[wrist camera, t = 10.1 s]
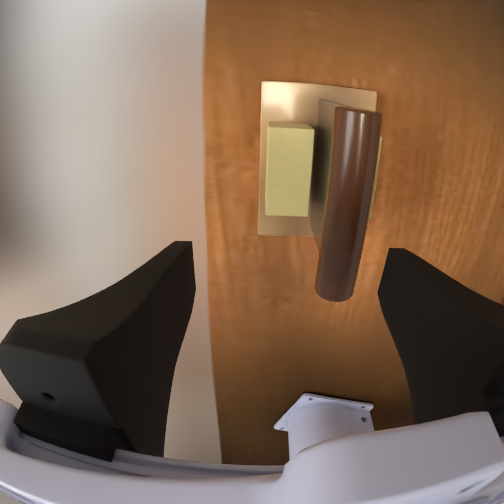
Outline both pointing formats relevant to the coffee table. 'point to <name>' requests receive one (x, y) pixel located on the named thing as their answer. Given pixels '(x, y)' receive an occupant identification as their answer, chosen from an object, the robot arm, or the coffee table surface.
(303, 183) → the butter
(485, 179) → the coffee table surface
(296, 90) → the board
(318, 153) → the scraper
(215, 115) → the coffee table surface
